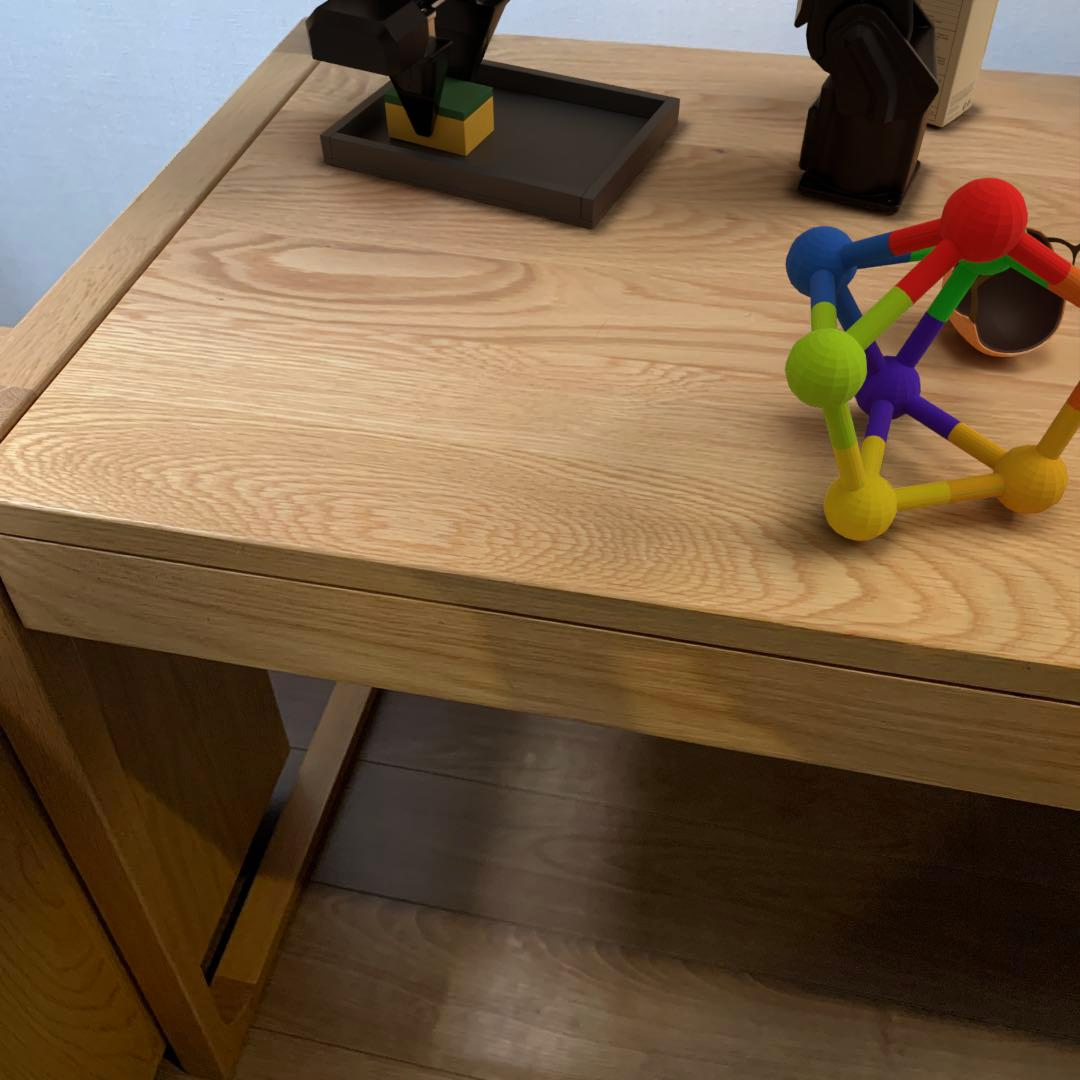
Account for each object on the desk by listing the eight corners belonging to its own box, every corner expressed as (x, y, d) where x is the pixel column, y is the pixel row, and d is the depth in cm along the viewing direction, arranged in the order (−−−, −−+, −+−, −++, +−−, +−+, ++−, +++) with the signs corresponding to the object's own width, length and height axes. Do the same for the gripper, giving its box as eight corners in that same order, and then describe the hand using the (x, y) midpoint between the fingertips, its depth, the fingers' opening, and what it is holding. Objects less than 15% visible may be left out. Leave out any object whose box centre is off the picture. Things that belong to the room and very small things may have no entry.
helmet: (1129, 307, 50) (1059, 347, 58) (1078, 174, 50) (1015, 231, 58) (1008, 348, 50) (955, 382, 58) (959, 215, 50) (912, 267, 58)
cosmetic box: (972, 109, 75) (1028, -83, 66) (941, 131, 73) (994, -65, 64) (891, 82, 78) (934, -105, 69) (859, 103, 76) (899, -88, 67)
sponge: (418, 111, 75) (414, 69, 73) (494, 130, 73) (492, 87, 71) (388, 136, 72) (383, 93, 70) (466, 156, 71) (463, 112, 68)
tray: (678, 126, 74) (680, 97, 73) (592, 229, 65) (593, 199, 64) (432, 75, 80) (430, 48, 79) (324, 163, 71) (319, 134, 70)
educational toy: (931, 351, 57) (1045, 73, 46) (1091, 521, 49) (1275, 236, 38) (669, 408, 53) (722, 118, 42) (797, 604, 45) (906, 311, 34)
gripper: (385, -202, 68) (408, 45, 80) (202, -115, 57) (259, 157, 69) (541, -180, 65) (542, 74, 77) (379, -84, 54) (408, 197, 66)
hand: (440, 121), depth 72 cm, fingers closed on sponge, 4 cm apart
